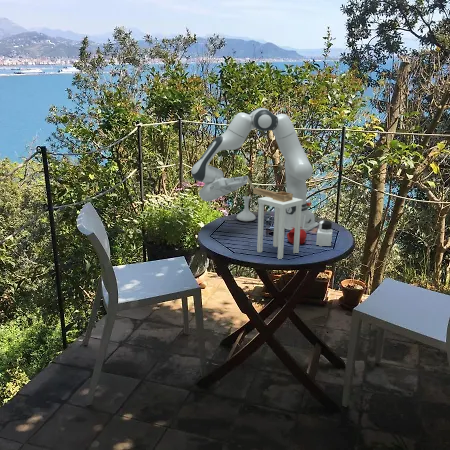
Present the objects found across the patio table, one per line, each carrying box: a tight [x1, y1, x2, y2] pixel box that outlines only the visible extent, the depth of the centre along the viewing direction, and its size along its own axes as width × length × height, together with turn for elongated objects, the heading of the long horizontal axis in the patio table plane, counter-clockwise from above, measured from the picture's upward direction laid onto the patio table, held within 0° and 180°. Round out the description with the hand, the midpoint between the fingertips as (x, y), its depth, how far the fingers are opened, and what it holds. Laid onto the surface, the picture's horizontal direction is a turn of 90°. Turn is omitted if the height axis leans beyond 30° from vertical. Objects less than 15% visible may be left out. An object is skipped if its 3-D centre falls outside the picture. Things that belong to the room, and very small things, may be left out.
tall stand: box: [256, 196, 303, 260], centre depth 211 cm, size 14×15×26 cm
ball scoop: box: [252, 187, 293, 202], centre depth 211 cm, size 6×20×3 cm, turn 43°
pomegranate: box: [286, 227, 308, 245], centre depth 228 cm, size 10×10×9 cm
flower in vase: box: [236, 177, 257, 222], centre depth 263 cm, size 13×11×25 cm
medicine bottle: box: [315, 220, 333, 247], centre depth 225 cm, size 7×7×12 cm
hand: (240, 178), depth 224 cm, fingers open, 8 cm apart
